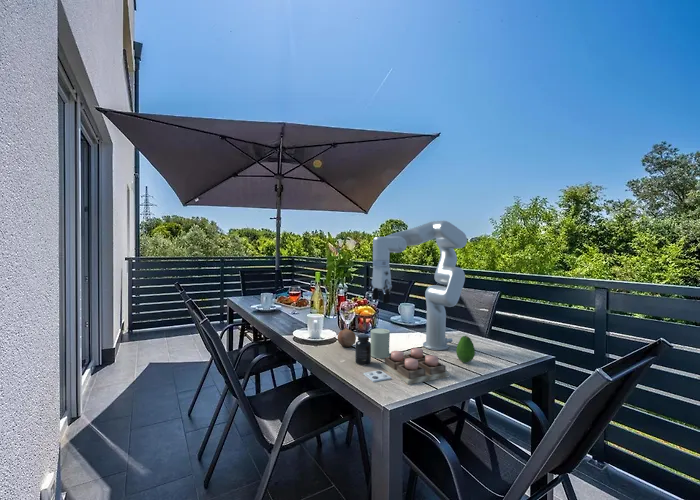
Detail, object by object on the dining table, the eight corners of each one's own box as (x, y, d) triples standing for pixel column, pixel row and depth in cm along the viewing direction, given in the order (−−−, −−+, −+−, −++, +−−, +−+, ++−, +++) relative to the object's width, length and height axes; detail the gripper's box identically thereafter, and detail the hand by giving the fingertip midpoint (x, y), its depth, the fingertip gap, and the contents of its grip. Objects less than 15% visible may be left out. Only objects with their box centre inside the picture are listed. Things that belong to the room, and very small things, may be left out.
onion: (344, 349, 176) (343, 330, 180) (359, 347, 172) (358, 328, 176) (333, 347, 169) (333, 327, 173) (350, 345, 164) (349, 324, 169)
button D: (412, 363, 137) (412, 357, 137) (420, 368, 132) (420, 361, 132) (402, 365, 135) (402, 359, 135) (409, 370, 130) (409, 363, 130)
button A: (418, 353, 150) (418, 347, 150) (425, 356, 146) (425, 350, 146) (408, 354, 148) (408, 348, 148) (415, 358, 144) (415, 352, 143)
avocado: (457, 364, 149) (458, 337, 149) (454, 358, 157) (455, 332, 156) (476, 365, 148) (477, 338, 148) (472, 359, 156) (473, 333, 155)
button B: (432, 360, 141) (432, 354, 141) (440, 364, 137) (441, 358, 137) (422, 362, 139) (422, 356, 139) (430, 366, 134) (430, 360, 134)
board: (419, 360, 154) (419, 351, 154) (449, 376, 136) (449, 366, 136) (380, 366, 145) (381, 357, 145) (407, 384, 127) (408, 373, 127)
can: (388, 359, 155) (389, 333, 154) (368, 357, 156) (369, 331, 156) (390, 352, 164) (390, 328, 163) (371, 351, 165) (371, 326, 165)
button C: (399, 356, 146) (399, 350, 146) (406, 360, 141) (406, 353, 141) (388, 357, 144) (388, 351, 144) (395, 361, 139) (395, 355, 139)
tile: (380, 371, 139) (380, 369, 139) (391, 378, 132) (391, 376, 132) (363, 374, 136) (363, 372, 136) (373, 382, 129) (373, 380, 129)
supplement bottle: (354, 360, 153) (355, 333, 152) (369, 359, 153) (370, 333, 153) (356, 365, 146) (356, 337, 145) (371, 365, 146) (372, 337, 146)
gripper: (398, 264, 148) (398, 303, 149) (379, 262, 164) (378, 297, 164) (383, 265, 145) (383, 305, 145) (365, 262, 161) (365, 298, 161)
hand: (380, 301), depth 155 cm, fingers open, 9 cm apart
